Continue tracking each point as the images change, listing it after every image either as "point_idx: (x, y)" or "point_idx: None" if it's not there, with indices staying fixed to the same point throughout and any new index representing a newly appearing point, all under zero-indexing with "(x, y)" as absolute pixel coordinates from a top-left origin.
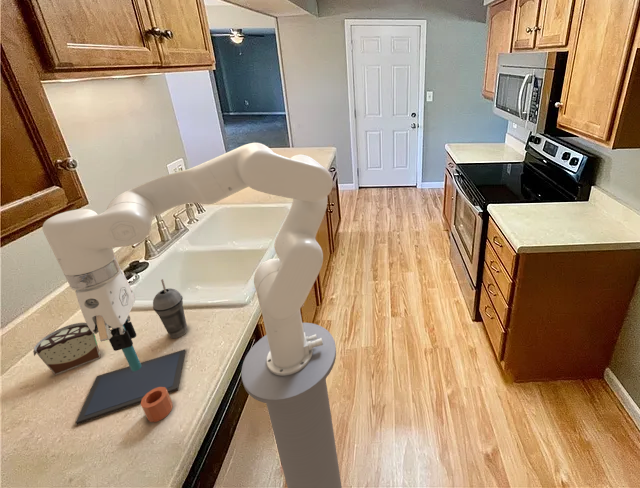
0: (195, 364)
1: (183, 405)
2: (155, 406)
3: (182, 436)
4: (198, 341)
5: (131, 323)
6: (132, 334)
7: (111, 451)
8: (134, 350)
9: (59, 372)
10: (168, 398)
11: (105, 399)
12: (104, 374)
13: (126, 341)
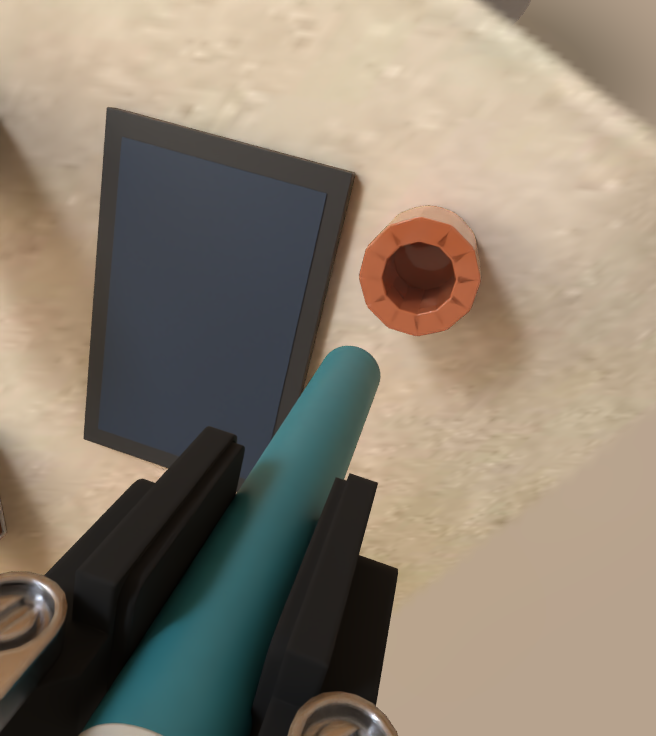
0: (237, 71)
1: (470, 161)
2: (480, 278)
3: (652, 187)
4: (75, 33)
5: (104, 548)
6: (221, 479)
7: (485, 423)
8: (317, 418)
9: (1, 523)
10: (444, 217)
11: (225, 425)
12: (88, 418)
13: (356, 566)
